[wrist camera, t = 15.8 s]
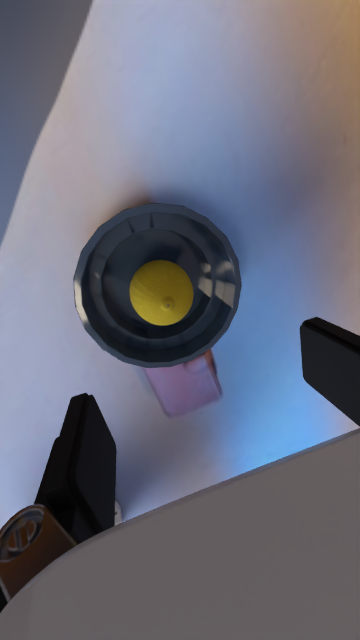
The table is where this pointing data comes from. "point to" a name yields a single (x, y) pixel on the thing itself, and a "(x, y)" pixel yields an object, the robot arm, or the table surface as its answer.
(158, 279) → the lemon
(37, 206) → the table surface
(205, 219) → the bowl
